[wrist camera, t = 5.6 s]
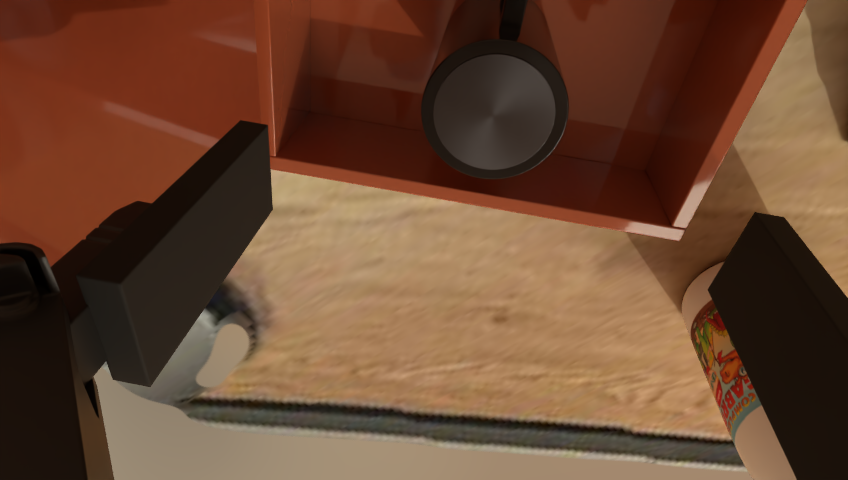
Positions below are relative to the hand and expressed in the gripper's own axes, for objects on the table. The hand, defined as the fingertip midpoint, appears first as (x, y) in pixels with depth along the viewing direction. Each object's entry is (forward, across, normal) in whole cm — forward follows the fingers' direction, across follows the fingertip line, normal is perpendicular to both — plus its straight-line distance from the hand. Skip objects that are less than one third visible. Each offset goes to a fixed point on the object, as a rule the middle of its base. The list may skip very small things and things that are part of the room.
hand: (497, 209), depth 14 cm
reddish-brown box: (+17, 0, 0) cm, 17 cm away
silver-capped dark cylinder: (+16, 0, 0) cm, 16 cm away
